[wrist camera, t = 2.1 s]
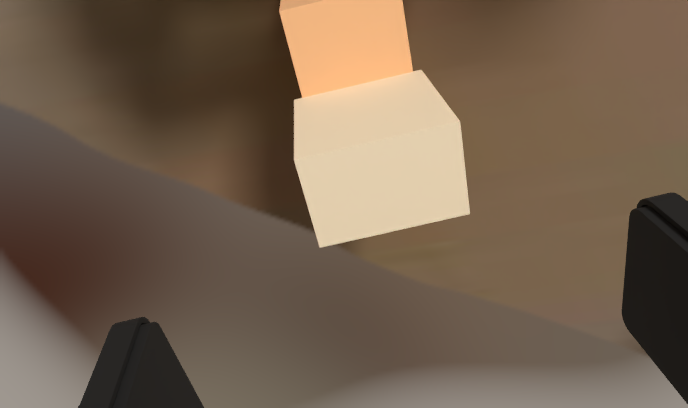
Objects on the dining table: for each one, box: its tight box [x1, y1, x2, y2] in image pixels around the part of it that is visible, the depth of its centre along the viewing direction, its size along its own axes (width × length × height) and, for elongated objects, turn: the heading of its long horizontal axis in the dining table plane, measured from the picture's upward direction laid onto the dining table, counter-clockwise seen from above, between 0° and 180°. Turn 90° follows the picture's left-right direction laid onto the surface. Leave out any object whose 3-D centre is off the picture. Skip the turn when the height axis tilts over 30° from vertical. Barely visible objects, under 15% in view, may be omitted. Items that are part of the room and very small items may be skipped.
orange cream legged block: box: [279, 0, 470, 248], centre depth 22 cm, size 9×5×17 cm, turn 12°
